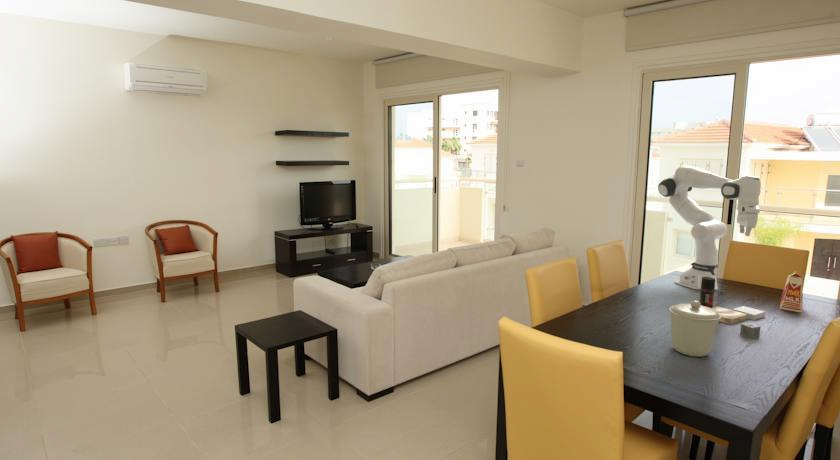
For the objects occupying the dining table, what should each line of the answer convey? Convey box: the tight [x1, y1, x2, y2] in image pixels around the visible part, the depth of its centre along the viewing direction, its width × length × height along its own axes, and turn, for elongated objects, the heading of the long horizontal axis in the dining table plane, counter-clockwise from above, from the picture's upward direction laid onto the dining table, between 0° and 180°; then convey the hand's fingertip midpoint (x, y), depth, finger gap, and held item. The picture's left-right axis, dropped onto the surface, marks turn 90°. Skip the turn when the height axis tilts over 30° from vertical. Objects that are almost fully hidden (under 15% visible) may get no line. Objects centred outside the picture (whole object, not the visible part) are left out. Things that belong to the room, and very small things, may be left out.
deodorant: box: [699, 277, 715, 308], centre depth 254 cm, size 6×6×15 cm
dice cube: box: [739, 322, 761, 340], centre depth 215 cm, size 5×5×5 cm
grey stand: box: [732, 305, 766, 321], centre depth 243 cm, size 10×10×2 cm
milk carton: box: [779, 271, 804, 313], centre depth 253 cm, size 9×9×20 cm
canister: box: [668, 299, 721, 358], centre depth 196 cm, size 18×18×21 cm
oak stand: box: [711, 305, 748, 325], centre depth 239 cm, size 14×14×3 cm
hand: (744, 234), depth 255 cm, fingers open, 8 cm apart
